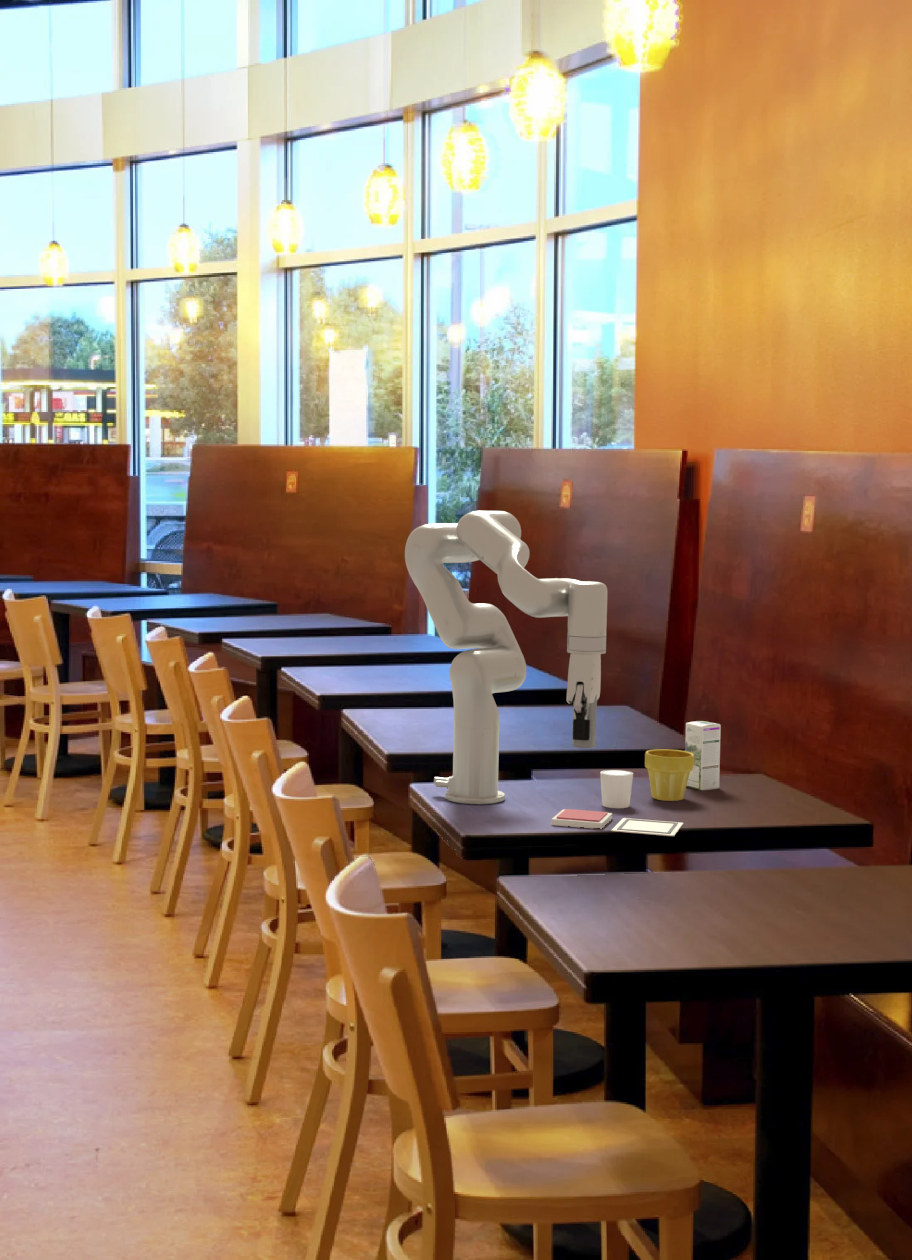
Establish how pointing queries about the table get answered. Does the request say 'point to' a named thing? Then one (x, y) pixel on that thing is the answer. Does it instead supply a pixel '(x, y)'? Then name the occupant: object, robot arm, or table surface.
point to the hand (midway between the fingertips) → (584, 737)
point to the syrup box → (703, 754)
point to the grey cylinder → (592, 718)
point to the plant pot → (668, 773)
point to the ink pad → (581, 818)
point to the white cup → (616, 788)
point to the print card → (647, 827)
